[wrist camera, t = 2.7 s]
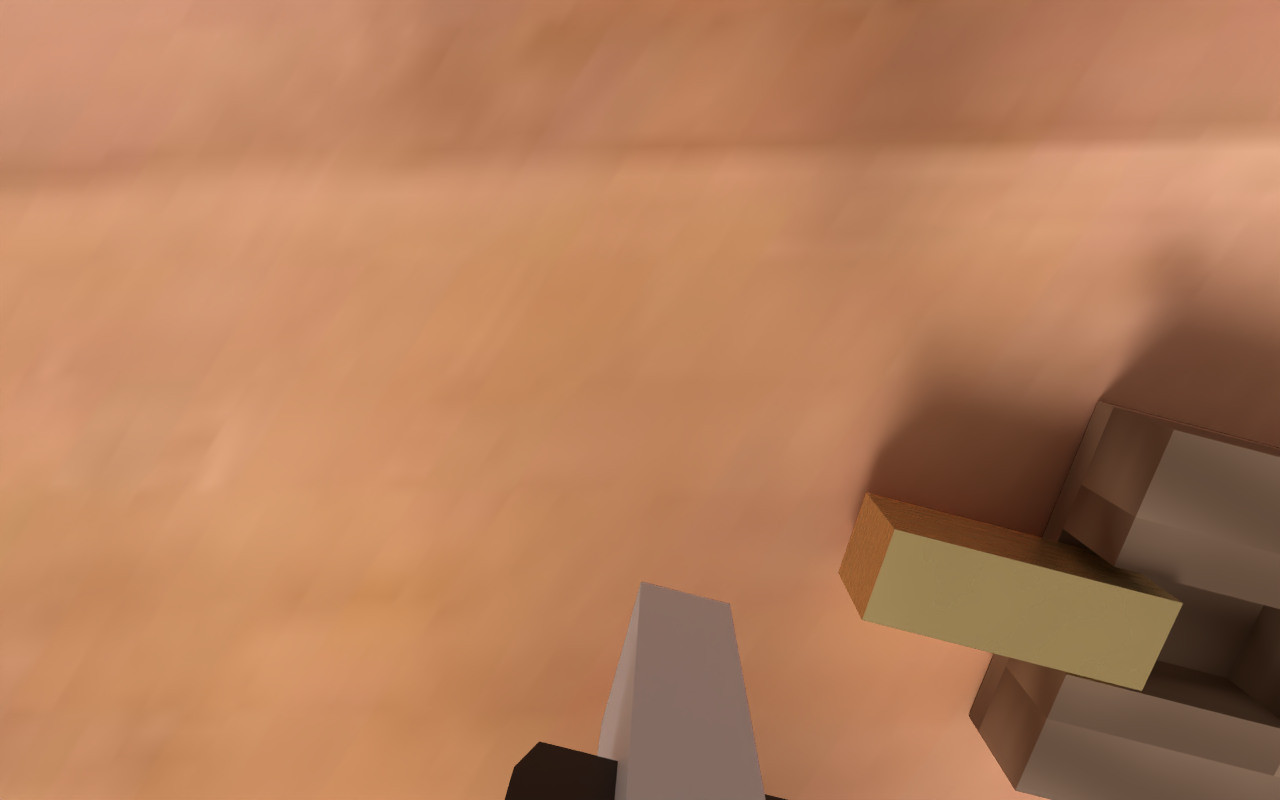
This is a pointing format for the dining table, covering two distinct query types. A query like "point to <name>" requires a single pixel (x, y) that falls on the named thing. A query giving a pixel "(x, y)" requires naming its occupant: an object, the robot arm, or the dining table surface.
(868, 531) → the bar
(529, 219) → the dining table surface
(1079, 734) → the socket block
